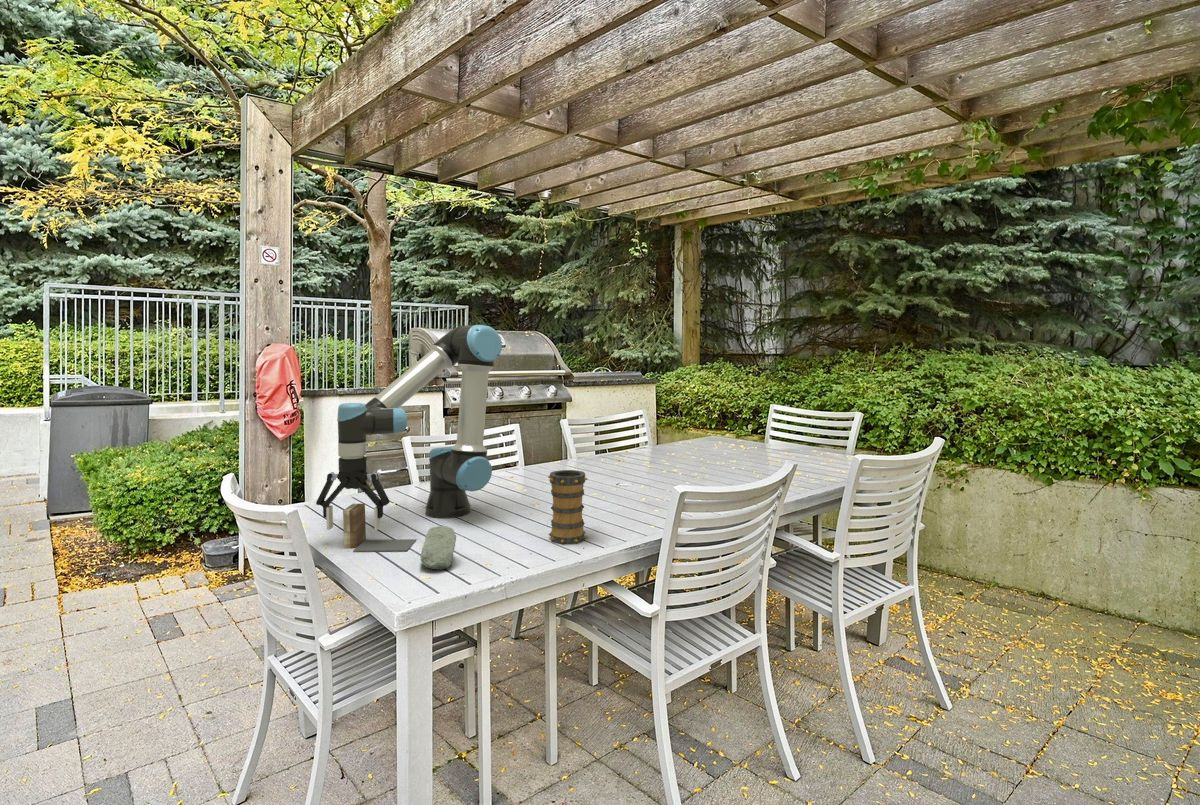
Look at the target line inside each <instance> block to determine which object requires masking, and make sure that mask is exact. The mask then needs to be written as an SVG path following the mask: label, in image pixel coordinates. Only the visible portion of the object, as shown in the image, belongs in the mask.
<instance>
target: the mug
mask: <svg viewBox="0 0 1200 805" xmlns="http://www.w3.org/2000/svg"><path fill="white" fill-rule="evenodd" d="M586 476H587V475H586V472H584V471H581V470H575V469H561V470H555V471H552V472H550V473H549V475H548V476H547V478H549V479H548V481H549V484H551V489H550V493H551V496H552V506H550V510H552V519H551V520H550V522H551V524H550V525H551V531H550V533H547V535H548V536H549V538H548V540H550V541H551V543H554V544H556V545H557V544H558V545H576V544H579V543H582V542H585V540H586V539H588V538H589V537H588V536H586V531H585V530H584V525H585V522H584V519H583V510H584V508H585V505H584V504H583V496H584V495H585V489H584V484H585V483H586V481H587V480H588V481H589V478H588V477H586Z"/></svg>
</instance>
